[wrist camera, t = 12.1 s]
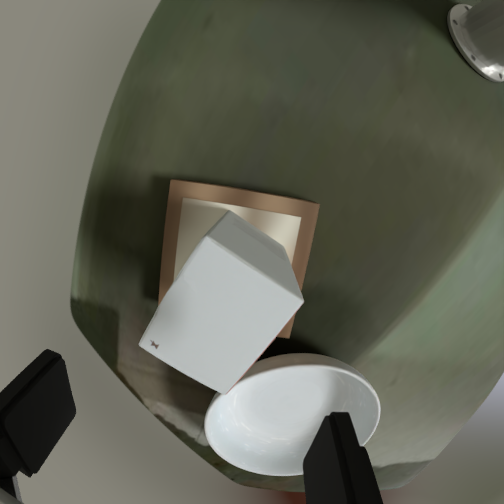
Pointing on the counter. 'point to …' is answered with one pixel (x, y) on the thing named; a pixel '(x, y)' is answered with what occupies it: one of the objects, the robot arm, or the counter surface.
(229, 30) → the counter surface
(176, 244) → the picture frame
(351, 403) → the serving bowl
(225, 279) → the small box
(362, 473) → the robot arm
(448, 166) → the counter surface
